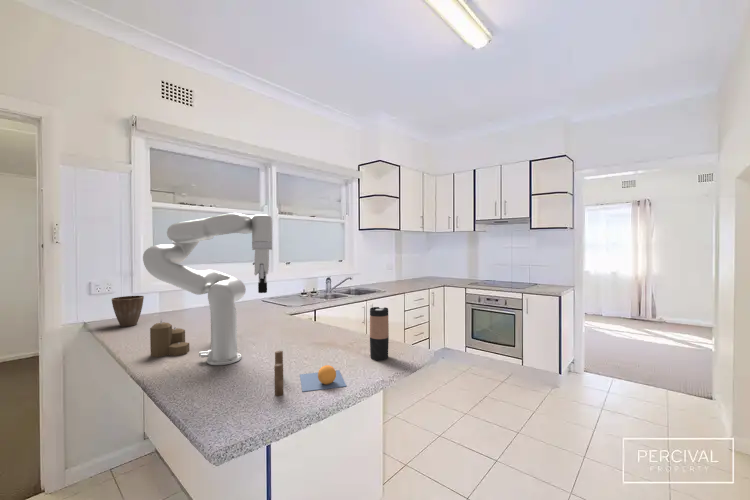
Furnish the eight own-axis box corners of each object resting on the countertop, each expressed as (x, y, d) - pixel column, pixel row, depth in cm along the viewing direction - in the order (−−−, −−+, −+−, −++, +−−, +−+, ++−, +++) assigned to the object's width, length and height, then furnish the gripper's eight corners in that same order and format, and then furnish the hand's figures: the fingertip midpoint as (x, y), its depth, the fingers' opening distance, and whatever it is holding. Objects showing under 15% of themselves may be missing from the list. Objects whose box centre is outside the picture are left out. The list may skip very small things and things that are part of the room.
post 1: (275, 379, 114) (274, 353, 114) (275, 376, 117) (275, 351, 116) (283, 378, 115) (282, 352, 115) (283, 375, 117) (282, 350, 117)
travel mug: (375, 362, 130) (375, 311, 130) (366, 356, 137) (366, 307, 137) (392, 359, 134) (392, 309, 133) (383, 353, 141) (382, 306, 140)
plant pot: (104, 328, 185) (104, 299, 185) (128, 321, 200) (128, 295, 200) (128, 329, 183) (127, 300, 182) (150, 322, 197) (150, 295, 197)
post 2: (274, 396, 101) (274, 367, 101) (274, 392, 104) (274, 364, 104) (283, 395, 102) (283, 366, 102) (283, 391, 105) (283, 363, 104)
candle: (153, 360, 134) (153, 323, 133) (147, 352, 144) (147, 317, 143) (191, 352, 143) (191, 317, 142) (183, 345, 153) (182, 313, 152)
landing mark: (302, 391, 105) (302, 391, 105) (299, 375, 118) (299, 374, 118) (346, 386, 108) (346, 385, 108) (339, 370, 122) (339, 370, 122)
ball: (339, 376, 108) (327, 391, 107) (339, 370, 114) (328, 384, 113) (325, 364, 108) (313, 379, 107) (326, 359, 114) (314, 373, 113)
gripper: (253, 246, 138) (254, 290, 138) (250, 246, 124) (251, 295, 124) (272, 246, 140) (273, 289, 140) (271, 246, 126) (272, 295, 126)
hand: (262, 292), depth 132 cm, fingers closed
